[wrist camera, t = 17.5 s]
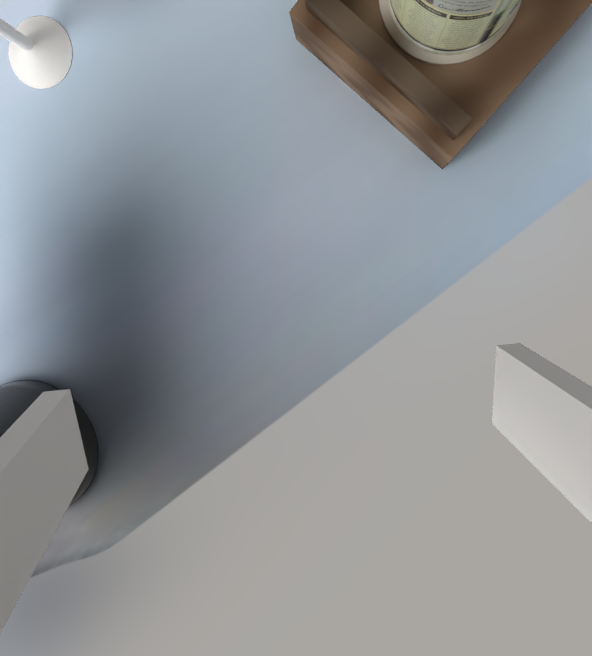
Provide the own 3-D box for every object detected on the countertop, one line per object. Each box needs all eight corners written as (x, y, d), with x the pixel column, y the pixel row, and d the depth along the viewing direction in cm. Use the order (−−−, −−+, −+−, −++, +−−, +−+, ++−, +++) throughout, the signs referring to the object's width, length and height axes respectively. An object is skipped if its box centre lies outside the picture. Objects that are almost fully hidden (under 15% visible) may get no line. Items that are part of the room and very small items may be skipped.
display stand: (590, 1, 41) (638, -49, 35) (442, 169, 45) (458, 153, 38) (433, -140, 41) (450, -219, 34) (296, 39, 45) (286, -1, 38)
